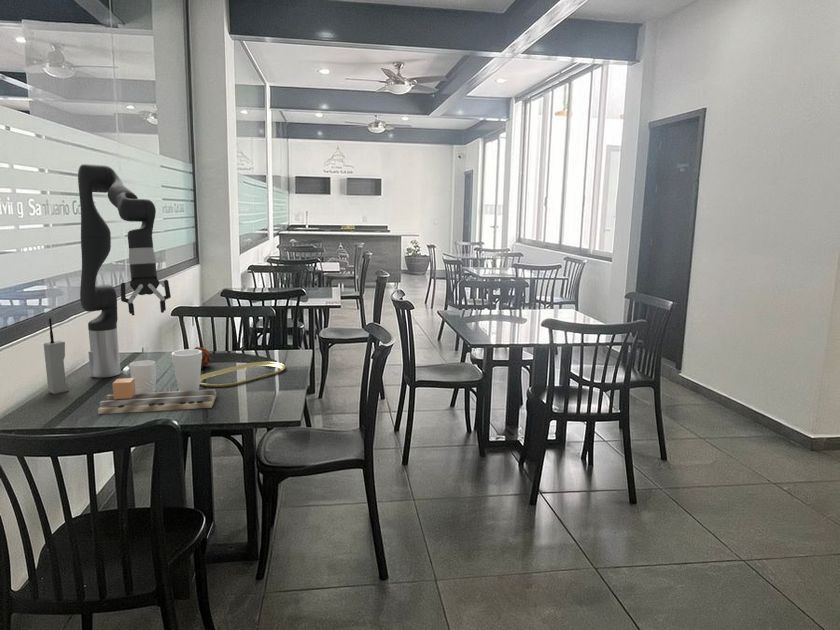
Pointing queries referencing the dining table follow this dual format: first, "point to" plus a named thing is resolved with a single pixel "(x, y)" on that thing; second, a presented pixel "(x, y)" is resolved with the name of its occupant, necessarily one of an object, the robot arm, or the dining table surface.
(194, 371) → the foam cup
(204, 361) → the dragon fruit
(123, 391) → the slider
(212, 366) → the dining table surface
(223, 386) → the gold oval ring
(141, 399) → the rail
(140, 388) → the white cup
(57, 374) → the vintage mobile phone
